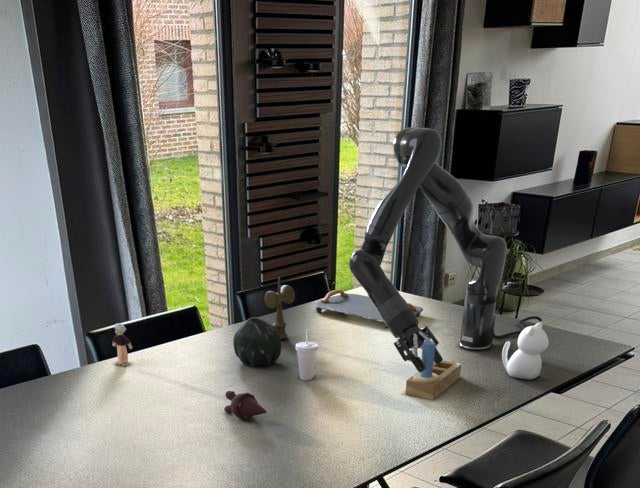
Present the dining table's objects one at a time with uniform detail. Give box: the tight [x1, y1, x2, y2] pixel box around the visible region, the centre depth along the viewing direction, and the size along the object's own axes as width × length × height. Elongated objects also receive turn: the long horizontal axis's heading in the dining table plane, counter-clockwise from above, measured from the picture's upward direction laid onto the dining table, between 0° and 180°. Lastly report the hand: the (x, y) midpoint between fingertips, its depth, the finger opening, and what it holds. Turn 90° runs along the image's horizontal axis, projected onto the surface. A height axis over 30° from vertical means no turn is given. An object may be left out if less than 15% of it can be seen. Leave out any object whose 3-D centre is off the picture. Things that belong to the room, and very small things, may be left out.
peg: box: [413, 340, 438, 383], centre depth 194 cm, size 6×6×13 cm
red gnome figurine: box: [223, 390, 268, 421], centre depth 184 cm, size 7×7×15 cm
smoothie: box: [295, 328, 319, 381], centre depth 206 cm, size 6×6×14 cm
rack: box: [405, 360, 462, 401], centre depth 201 cm, size 20×8×4 cm, turn 146°
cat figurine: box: [501, 321, 550, 381], centre depth 203 cm, size 9×12×15 cm
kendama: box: [264, 276, 296, 341], centre depth 238 cm, size 6×10×20 cm, turn 141°
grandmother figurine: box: [112, 323, 133, 367], centre depth 221 cm, size 8×4×13 cm, turn 68°
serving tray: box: [313, 289, 424, 329], centre depth 263 cm, size 39×23×6 cm, turn 45°
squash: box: [232, 316, 283, 367], centre depth 219 cm, size 14×15×15 cm
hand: (431, 366), depth 193 cm, fingers open, 8 cm apart
